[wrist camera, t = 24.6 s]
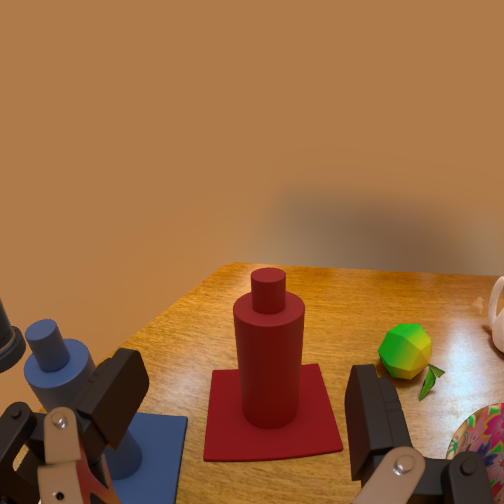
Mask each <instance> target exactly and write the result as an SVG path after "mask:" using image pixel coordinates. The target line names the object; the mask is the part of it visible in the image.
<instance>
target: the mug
mask: <svg viewBox="0 0 504 504" xmlns="http://www.w3.org/2000/svg"><path fill="white" fill-rule="evenodd" d="M462 451H473V452H476V453H478V454H479V455H480V456H481V457H482V459H483V460H484V463H485V467H486V470H487V474H488V478H489V482H490V487H491V491H492V496H493V501H494V504H504V403H497V404H493V405H489V406H486V407H484V408H482V409H480V410H478V411H476V412H475V413H474V414H472V415H471V416H470V417H468V418H467V419H466V420H465V421H464V422H463V423H462V425H461V426H460V427H459V428H458V430H457V431H456V433H455V434H454V436H453V438H452V440H451V442H450V445H449V448H448V451H447V454H446V458H445V459H452V458H453V457H454V456H455V455H457V454H458V453H460V452H462Z"/></svg>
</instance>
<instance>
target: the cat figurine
mask: <svg viewBox="0 0 504 504" xmlns="http://www.w3.org/2000/svg"><path fill="white" fill-rule="evenodd" d="M503 286H504V277H503V276H502V277H500V278H499V279H498V280H497V282H496V283H495V285H494V287H493V290H492V292H491V296H490V300H489V308H488V319H489V324H490V327H491V329H492V338H493V342H494V344H495V346H496V347H497V348H498V349H499V350H500V351H501V352H503V353H504V308H503V309H502V311H501V312H500V314H499V315H498V317H497V319H496V307H497V301H498V297H499V295H500V292H501V290H502V288H503Z"/></svg>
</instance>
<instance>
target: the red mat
mask: <svg viewBox="0 0 504 504" xmlns="http://www.w3.org/2000/svg"><path fill="white" fill-rule="evenodd" d="M342 450H343V445H342V441H341V438H340V434H339V431H338V428H337V424H336V421H335V417H334V414H333V411H332V407H331V404H330V401H329V397H328V394H327V391H326V387H325V384H324V381H323V378H322V375H321V371H320V368H319V365H318V363H317V364H308V365H301V373H300V385H299V396H298V406H297V413H296V415H295V417H294V418H293V420H292V421H291V422H290V423H288V424H287V425H285V426H283V427H280V428H275V429H264V428H259V427H257V426H255V425H253V424H251V423H250V422H249V421H248V420H247V419H246V417H245V416H244V412H243V404H242V395H241V386H240V377H239V369H235V370H213V372H212V380H211V389H210V398H209V407H208V416H207V426H206V436H205V446H204V456H203V459H204V461H215V462H243V461H266V460H280V459H290V458H299V457H307V456H314V455H321V454H327V453H333V452H338V451H342Z"/></svg>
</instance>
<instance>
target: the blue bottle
mask: <svg viewBox="0 0 504 504" xmlns="http://www.w3.org/2000/svg"><path fill="white" fill-rule="evenodd" d="M25 337H26V340H27V342H28V344H29V346H30V348H31V350H32V352H33V353H32V354H31V355H30V356H29V358H28V359H27V361H26V363H25V366H24V375H25V378H26V380H27V382H28V383H29V385H30V387H31V388H32V390H33V392H34V393H35V395H36V396H37V398H38V399H39V401H40V402H41V404H42V405H43V407H44V408H45V410H46V411H47V413H49V412H50V411H51V410H52V409H54V408H57V407H67V406H68V405H69V404H70V403H71V401H72V400H73V399H74V397H75V396H76V394H77V393H78V392H79V390H80V389H81V388H82V386H83V385H84V384H85V382H87V381H88V378H89V377H90V376H91V375H93V372H94V370H95V369H96V367H95V364H94V362H93V360H92V358H91V355H90V353H89V351H88V348H87V347H86V346H85V345H84V344H83V343H82V342H80V341H78V340H75V339H62V336H61V334H60V332H59V329H58V327H57V324H56V322H55V321H53V320H51V319H44V320H40V321H38V322H35V323H34V324H32V325H31V326H30V327H28V328H27V330H26V332H25ZM103 453H104V455H105V459H106V463H107V466H108V470H109V474H110V477H111V479H115V480H117V479H124V478H127V477H129V476H131V475H132V474H134V473H135V472H136V471H137V469H138V468H139V466H140V464H141V461H142V453H141V449H140V447H139V446H138V444H137V443H136V441H135V439H134V438H133V436H132V435H131V433H130V431H129V430H128V429H127V431H126V433H125V434H124V436H123V438H122V440H121V442H120V444H119V446H118V448H117V450H116V451H115V450H112V449H109V448H106V447H105V449H104V451H103Z"/></svg>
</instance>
